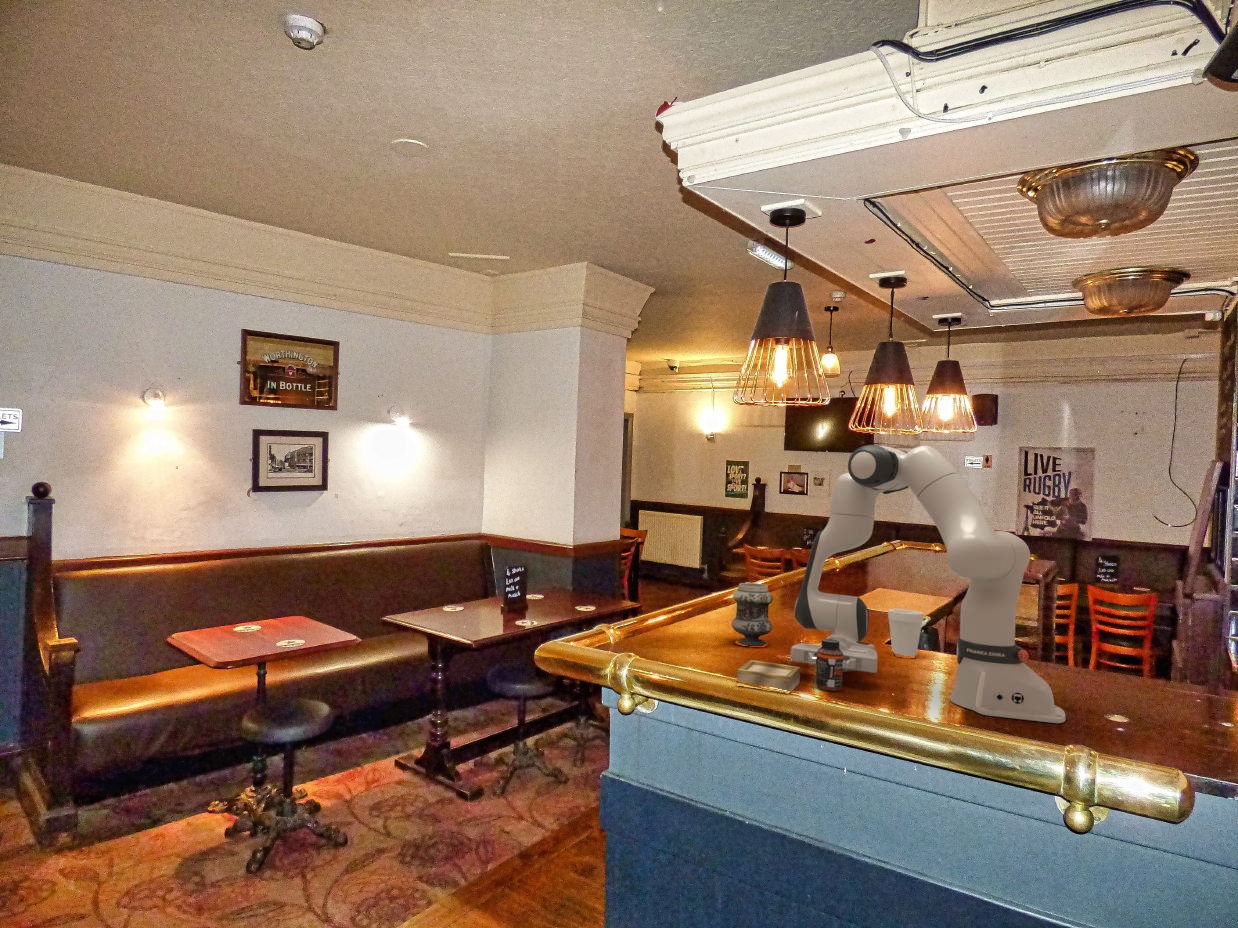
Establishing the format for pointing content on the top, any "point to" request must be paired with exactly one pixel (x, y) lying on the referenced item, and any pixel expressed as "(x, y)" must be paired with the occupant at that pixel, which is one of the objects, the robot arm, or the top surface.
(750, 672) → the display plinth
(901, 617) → the foam cup
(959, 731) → the top surface
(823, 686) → the supplement bottle
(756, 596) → the apothecary jar
